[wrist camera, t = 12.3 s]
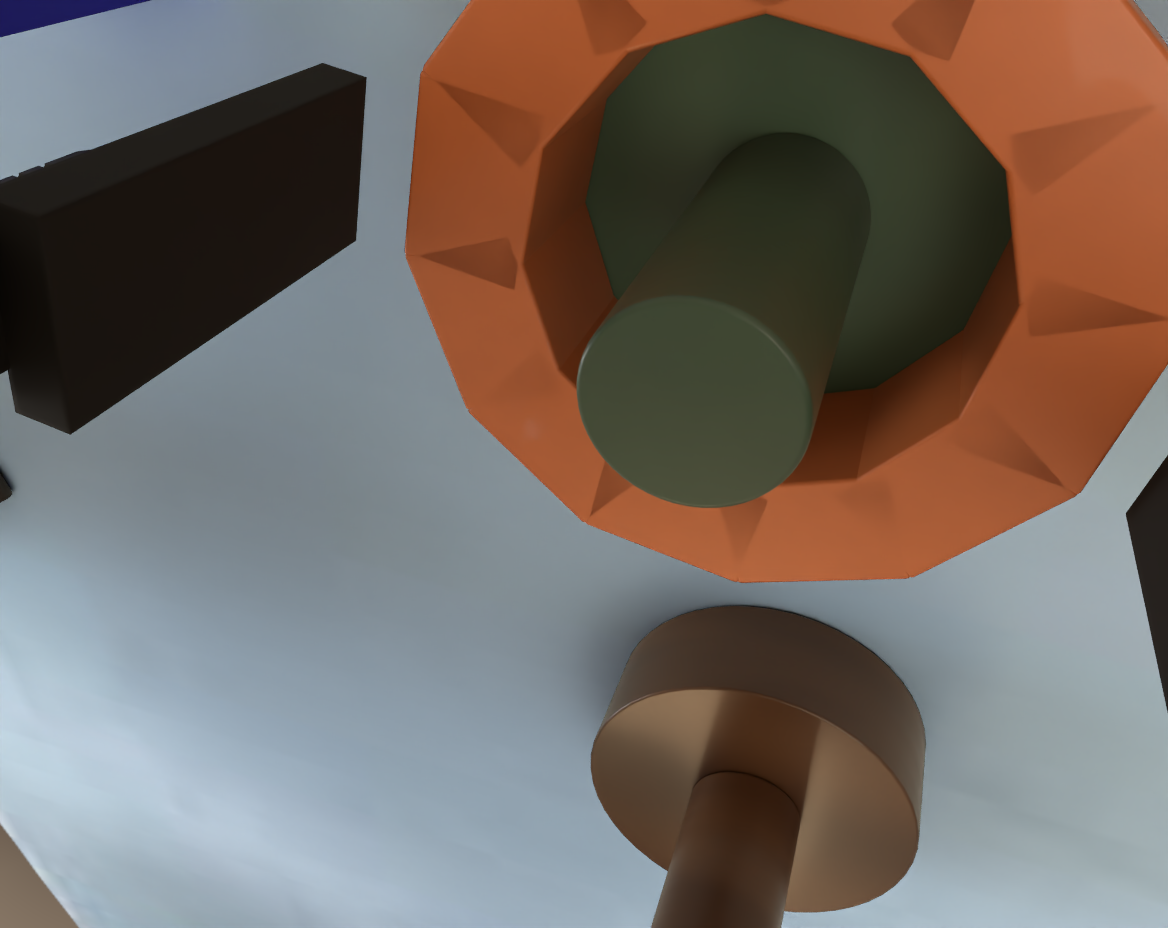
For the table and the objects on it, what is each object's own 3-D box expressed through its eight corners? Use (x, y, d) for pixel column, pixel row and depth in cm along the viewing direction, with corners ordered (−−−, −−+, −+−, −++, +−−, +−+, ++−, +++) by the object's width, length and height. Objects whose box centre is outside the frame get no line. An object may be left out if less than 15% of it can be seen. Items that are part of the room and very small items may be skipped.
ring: (964, 561, 19) (959, 671, 16) (455, 371, 20) (385, 447, 18) (1343, -53, 12) (1427, -16, 10) (542, -264, 14) (449, -276, 11)
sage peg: (934, 415, 20) (900, 767, 13) (566, 286, 22) (347, 540, 14) (1155, -10, 15) (1306, 176, 8) (657, -147, 17) (385, -98, 9)
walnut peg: (857, 860, 29) (809, 1223, 22) (597, 749, 30) (469, 1058, 23) (981, 684, 24) (975, 1082, 17) (662, 559, 25) (525, 878, 18)
